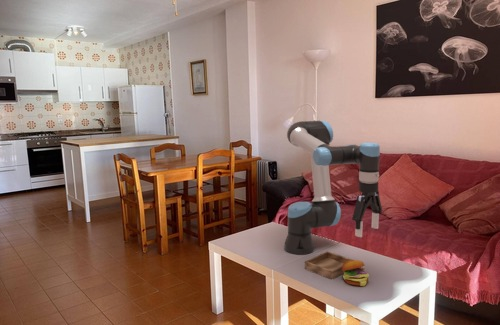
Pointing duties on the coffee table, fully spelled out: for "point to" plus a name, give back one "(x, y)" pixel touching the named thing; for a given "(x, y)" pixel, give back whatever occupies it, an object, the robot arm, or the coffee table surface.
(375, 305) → the coffee table surface
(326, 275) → the crate
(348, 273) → the cheeseburger
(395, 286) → the coffee table surface
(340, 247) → the coffee table surface
